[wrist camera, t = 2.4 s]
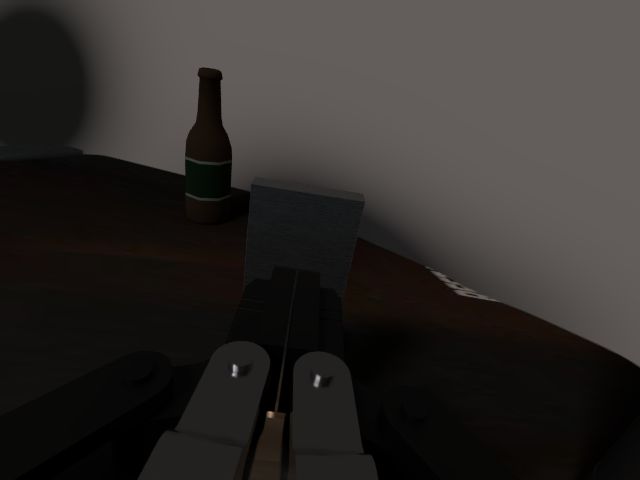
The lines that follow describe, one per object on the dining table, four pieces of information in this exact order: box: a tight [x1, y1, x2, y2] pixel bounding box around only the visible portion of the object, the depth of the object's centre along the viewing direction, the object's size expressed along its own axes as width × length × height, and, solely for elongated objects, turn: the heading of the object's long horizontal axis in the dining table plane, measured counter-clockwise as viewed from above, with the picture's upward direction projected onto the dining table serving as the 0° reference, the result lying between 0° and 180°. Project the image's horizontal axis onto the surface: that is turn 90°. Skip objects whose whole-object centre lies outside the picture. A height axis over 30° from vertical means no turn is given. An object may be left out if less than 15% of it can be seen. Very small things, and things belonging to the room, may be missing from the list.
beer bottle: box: [185, 68, 232, 224], centre depth 59 cm, size 8×8×24 cm
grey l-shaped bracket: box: [243, 177, 365, 402], centre depth 26 cm, size 6×6×20 cm
